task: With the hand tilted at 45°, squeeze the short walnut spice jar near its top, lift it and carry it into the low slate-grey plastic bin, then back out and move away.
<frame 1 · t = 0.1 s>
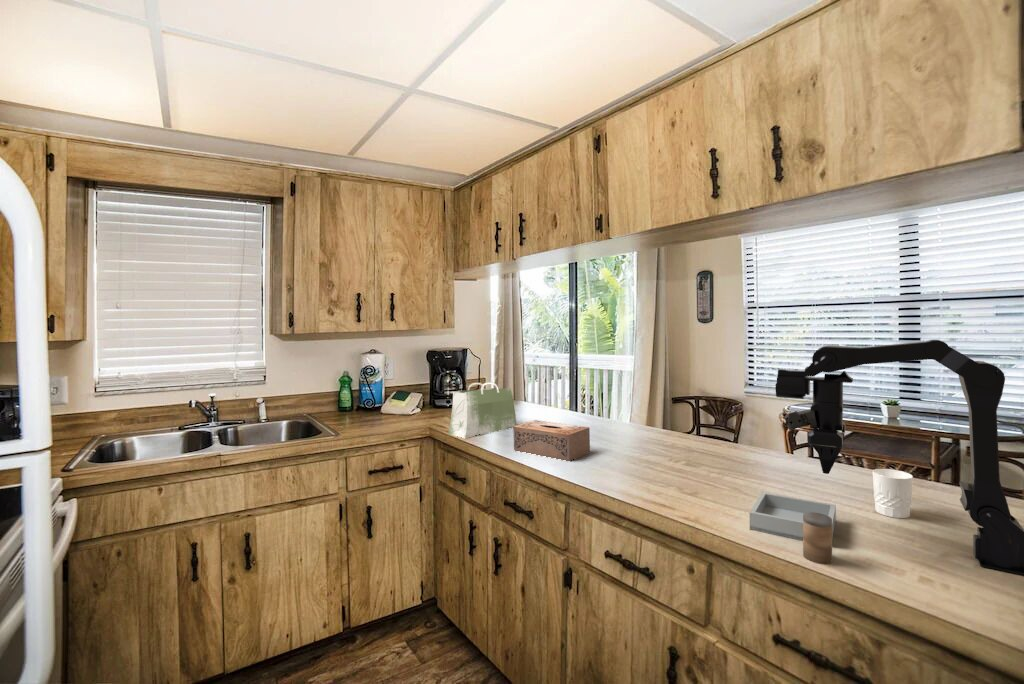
hand: (827, 468, 109), 15 cm above the worktop, tool pointing down, fingers open, 9 cm apart
bin: (793, 525, 113), on the worktop
tissue box cover: (551, 452, 184), on the worktop
spice jar: (817, 557, 98), on the worktop
white cup: (892, 513, 119), on the worktop
grocery bag: (483, 431, 224), on the worktop
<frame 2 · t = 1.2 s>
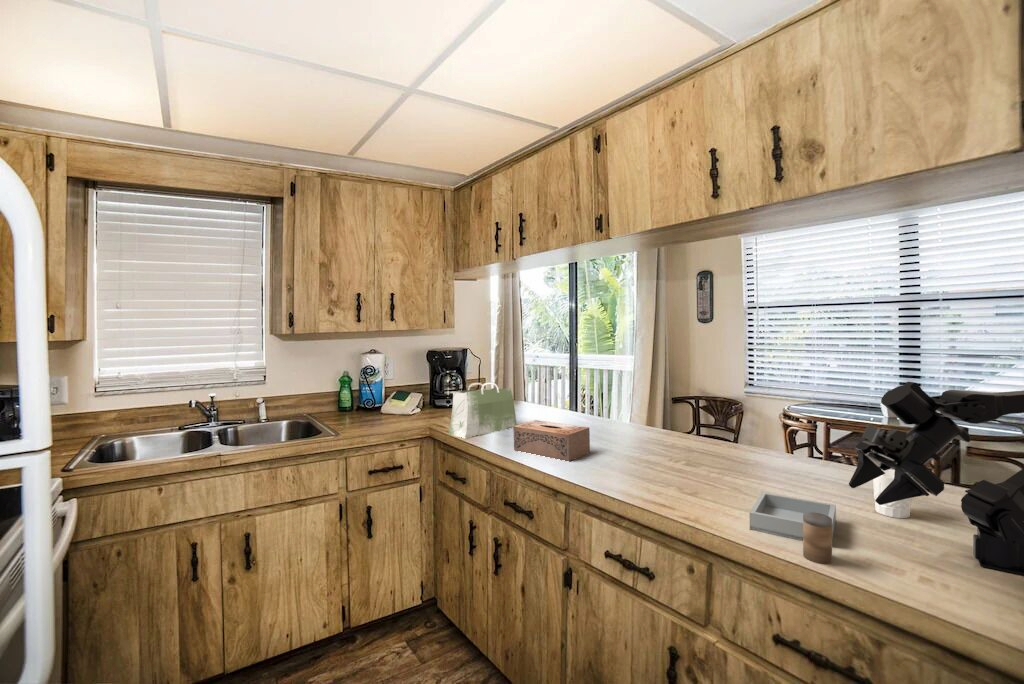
hand: (863, 494, 96), 13 cm above the worktop, tool tilted 45°, fingers open, 9 cm apart
nothing on the worktop moved.
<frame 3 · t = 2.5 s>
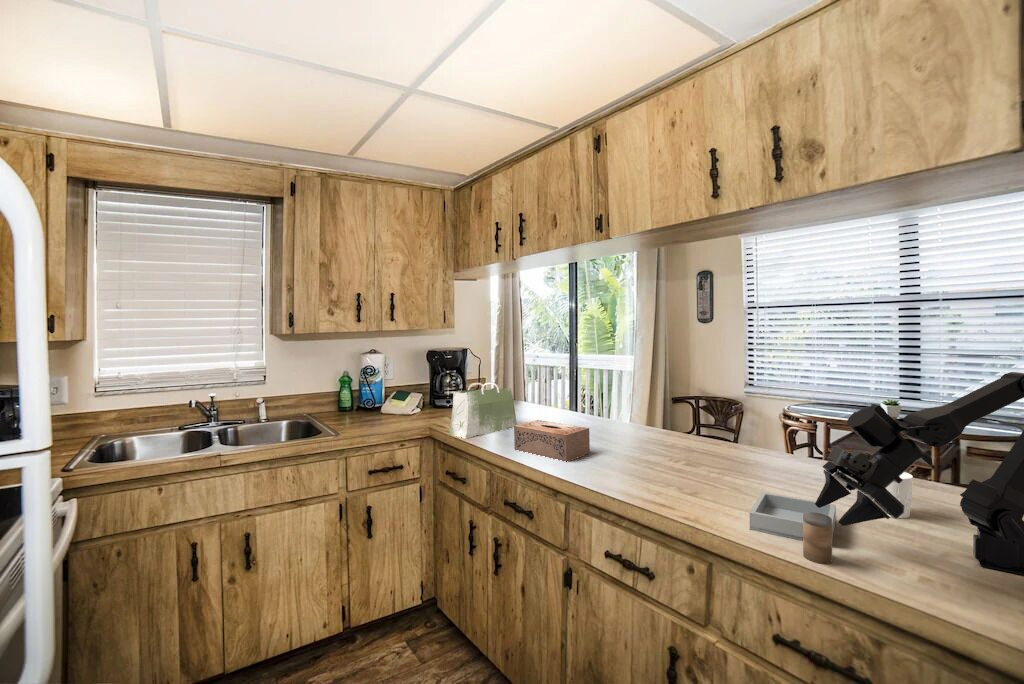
hand: (827, 514, 97), 9 cm above the worktop, tool tilted 45°, fingers open, 9 cm apart
nothing on the worktop moved.
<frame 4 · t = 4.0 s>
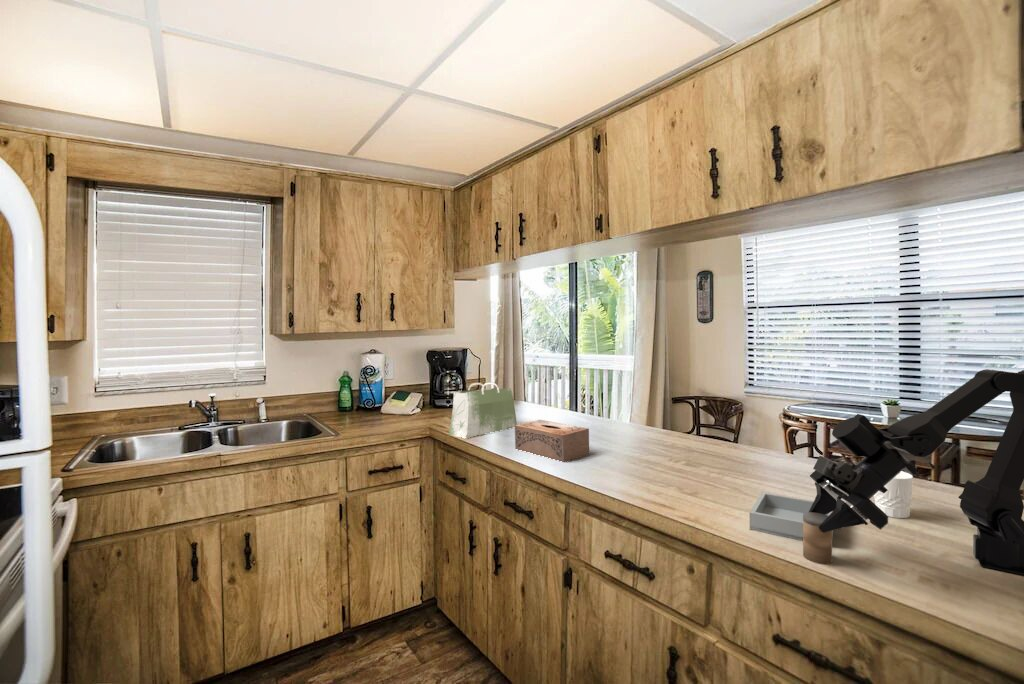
hand: (814, 524, 98), 7 cm above the worktop, tool tilted 45°, fingers closed on spice jar, 5 cm apart
spice jar: (817, 557, 98), on the worktop, touching gripper
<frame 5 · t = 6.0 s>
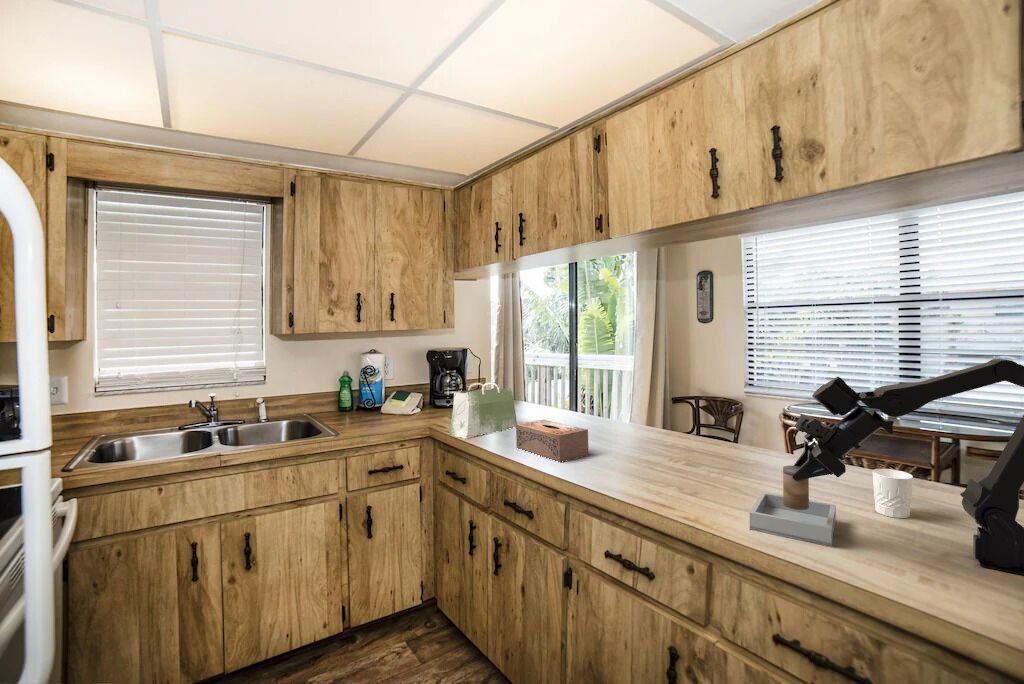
hand: (792, 475, 108), 14 cm above the worktop, tool tilted 45°, fingers closed on spice jar, 5 cm apart
spice jar: (795, 505, 108), point 7 cm above the worktop, touching gripper
when the fingers open (9 cm above the worktop, at t = 8.3 s): spice jar stays where it is, resting on bin.
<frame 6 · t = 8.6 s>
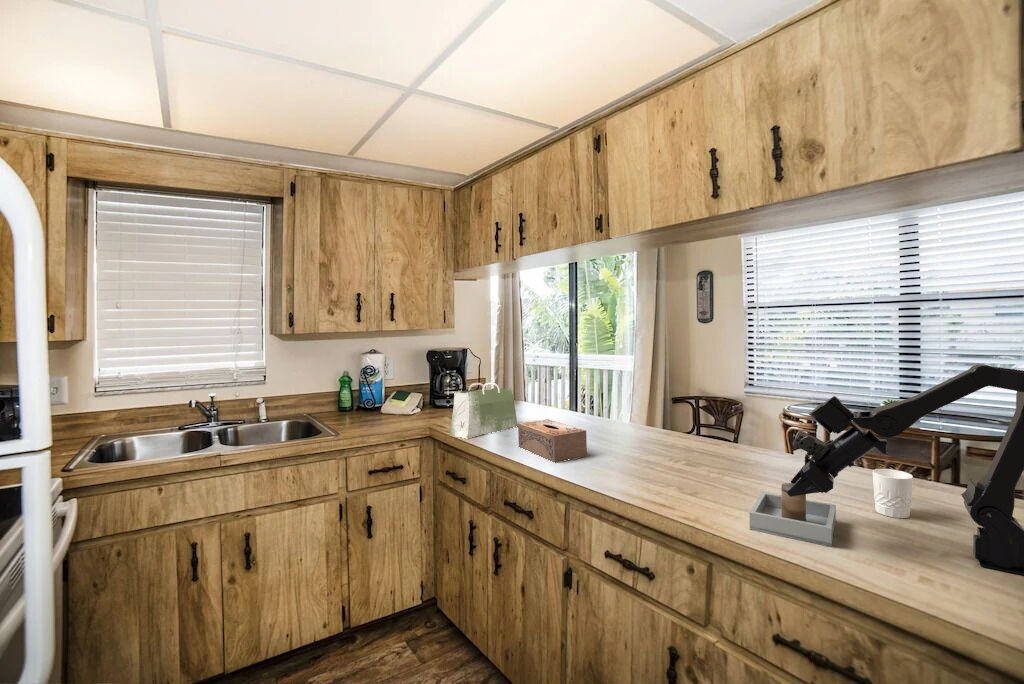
hand: (790, 488, 113), 9 cm above the worktop, tool tilted 45°, fingers open, 9 cm apart
spice jar: (793, 521, 113), point 1 cm above the worktop, touching bin
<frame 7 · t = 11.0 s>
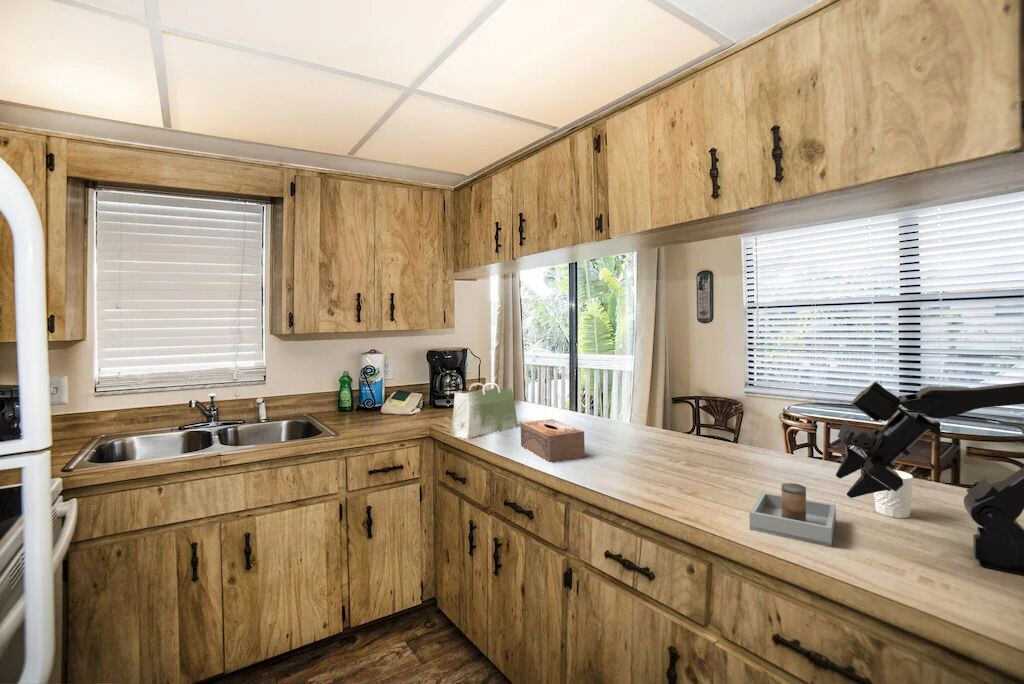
hand: (842, 486, 106), 11 cm above the worktop, tool tilted 40°, fingers open, 9 cm apart
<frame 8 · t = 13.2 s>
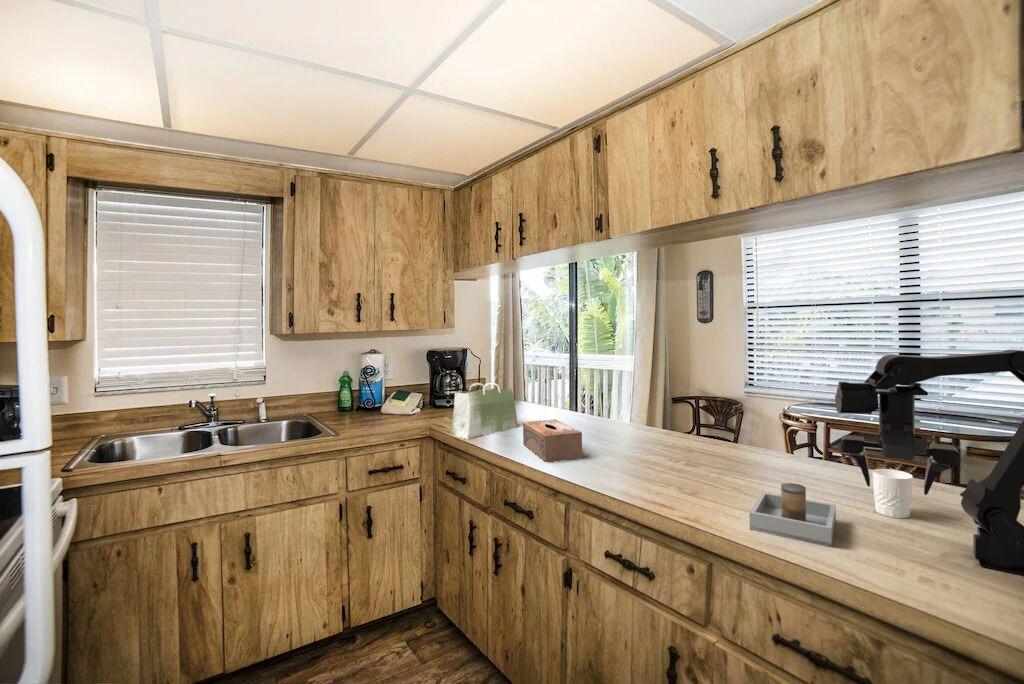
hand: (896, 490, 99), 13 cm above the worktop, tool pointing down, fingers open, 9 cm apart
at the end: spice jar inside the target area on the bin (0.1 cm from its centre), point 0.8 cm above the bin's base; spice jar tilted 1°; the gripper is holding nothing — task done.
